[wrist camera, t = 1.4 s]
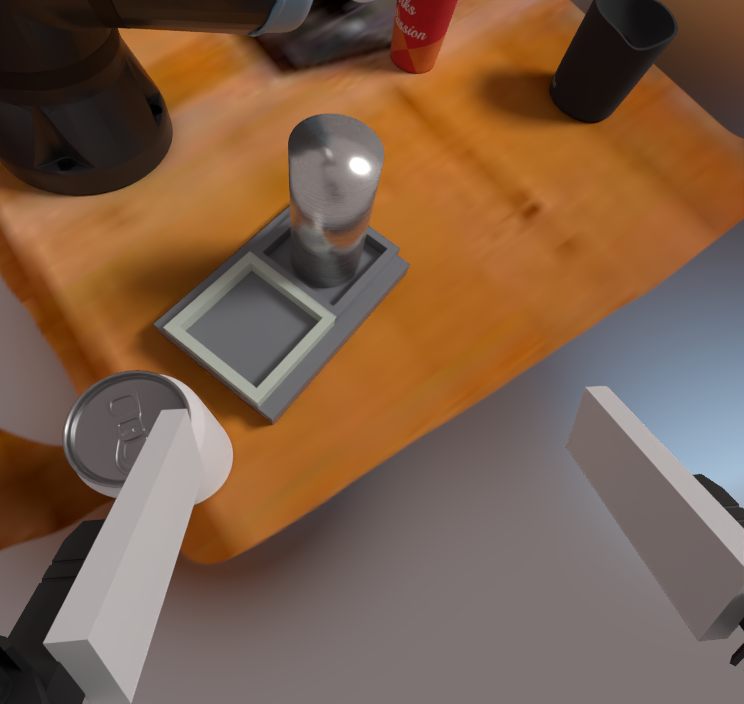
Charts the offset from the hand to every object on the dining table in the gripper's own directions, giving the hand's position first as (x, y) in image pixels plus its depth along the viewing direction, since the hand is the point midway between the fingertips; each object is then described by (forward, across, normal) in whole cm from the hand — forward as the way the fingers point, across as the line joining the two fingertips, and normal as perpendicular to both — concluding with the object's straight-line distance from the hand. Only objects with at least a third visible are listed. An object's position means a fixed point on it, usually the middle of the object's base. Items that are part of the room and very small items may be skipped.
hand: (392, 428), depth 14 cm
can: (+13, -13, -14) cm, 23 cm away
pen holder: (+50, +31, +9) cm, 59 cm away
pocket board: (+24, -5, -6) cm, 25 cm away
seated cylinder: (+26, -2, -3) cm, 26 cm away
